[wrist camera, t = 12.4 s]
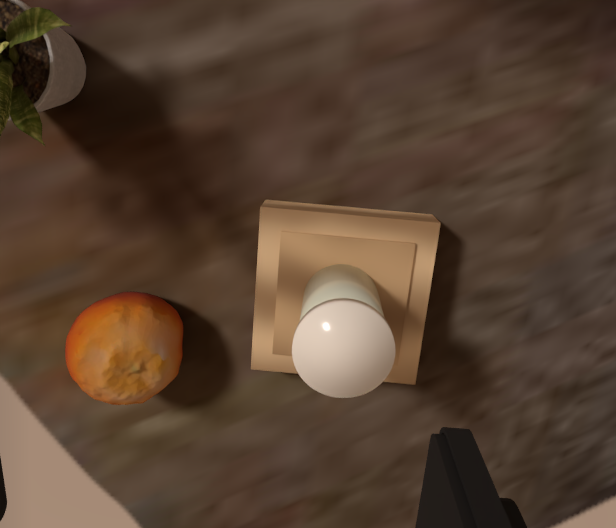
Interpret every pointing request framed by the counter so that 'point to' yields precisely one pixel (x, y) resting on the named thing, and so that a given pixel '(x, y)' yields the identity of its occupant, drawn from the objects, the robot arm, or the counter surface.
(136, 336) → the fruit
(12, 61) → the house plant
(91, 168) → the counter surface
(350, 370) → the canister
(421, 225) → the base
